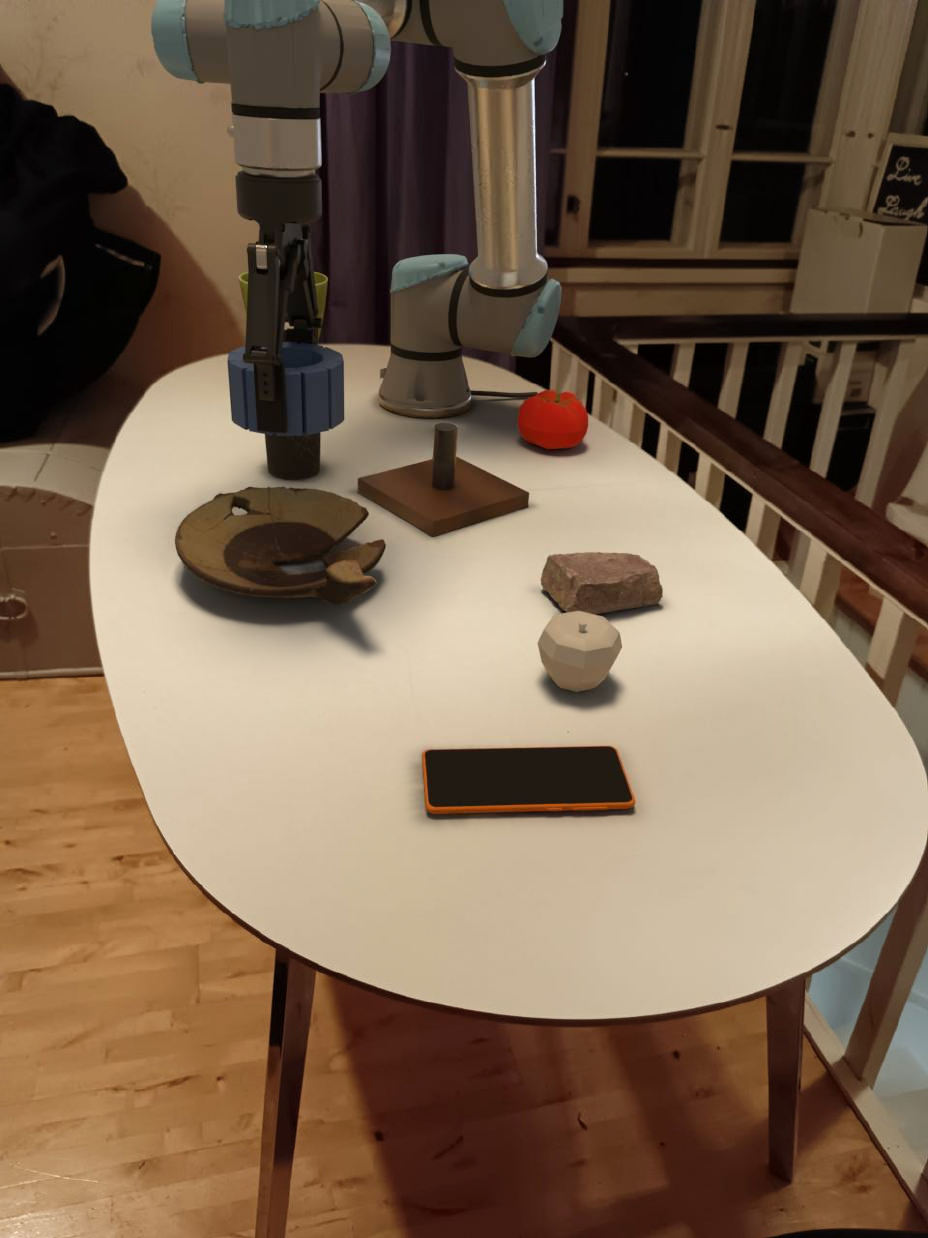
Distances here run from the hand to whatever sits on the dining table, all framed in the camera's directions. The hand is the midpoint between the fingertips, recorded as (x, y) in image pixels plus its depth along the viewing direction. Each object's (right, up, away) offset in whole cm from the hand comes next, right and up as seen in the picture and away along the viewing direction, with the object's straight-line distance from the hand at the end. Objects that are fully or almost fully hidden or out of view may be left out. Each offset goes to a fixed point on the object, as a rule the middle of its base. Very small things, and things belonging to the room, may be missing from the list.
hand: (287, 410), depth 95 cm
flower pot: (-14, +23, +75) cm, 80 cm away
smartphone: (+23, -34, -17) cm, 45 cm away
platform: (+15, -5, +30) cm, 34 cm away
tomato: (+31, +6, +50) cm, 59 cm away
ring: (0, -1, 0) cm, 1 cm away
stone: (+33, -19, +10) cm, 39 cm away
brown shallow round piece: (-2, -17, +9) cm, 19 cm away
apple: (+28, -27, -4) cm, 39 cm away
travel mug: (-6, 0, +36) cm, 37 cm away
